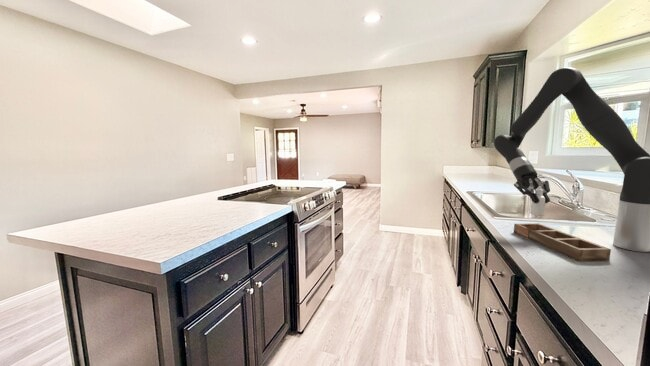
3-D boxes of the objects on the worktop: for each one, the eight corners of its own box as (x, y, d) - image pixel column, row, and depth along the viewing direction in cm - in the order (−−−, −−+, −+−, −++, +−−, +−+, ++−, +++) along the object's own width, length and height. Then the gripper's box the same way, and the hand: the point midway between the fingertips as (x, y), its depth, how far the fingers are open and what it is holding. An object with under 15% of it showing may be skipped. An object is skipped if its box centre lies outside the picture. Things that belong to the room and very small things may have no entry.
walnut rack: (537, 232, 113) (538, 223, 113) (609, 260, 85) (611, 249, 84) (512, 232, 113) (513, 223, 113) (577, 261, 85) (578, 249, 84)
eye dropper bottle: (543, 214, 108) (546, 185, 106) (543, 217, 103) (546, 187, 102) (530, 212, 111) (533, 184, 109) (529, 215, 106) (532, 186, 105)
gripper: (511, 164, 111) (531, 197, 101) (544, 163, 111) (566, 197, 101) (501, 174, 117) (519, 207, 107) (532, 174, 117) (553, 206, 107)
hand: (542, 202), depth 104 cm, fingers closed on eye dropper bottle, 3 cm apart
